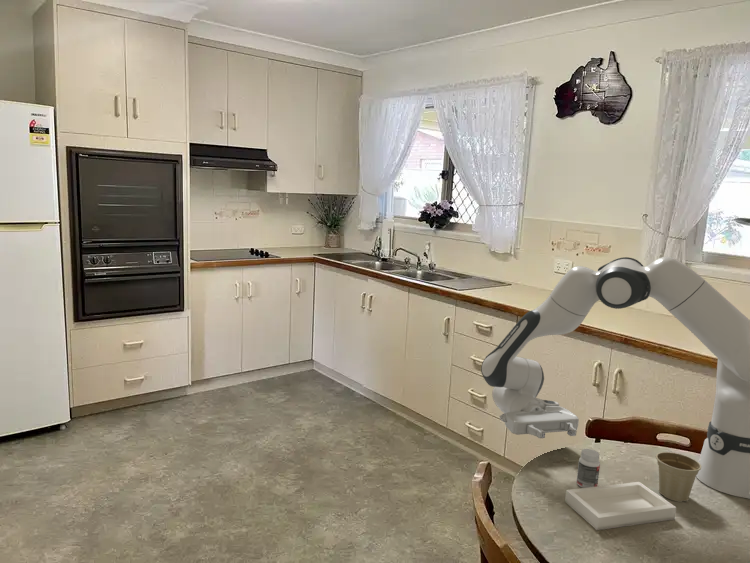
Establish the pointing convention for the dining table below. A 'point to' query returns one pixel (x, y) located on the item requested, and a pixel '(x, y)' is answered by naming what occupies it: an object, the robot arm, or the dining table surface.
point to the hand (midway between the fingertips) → (558, 434)
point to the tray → (619, 505)
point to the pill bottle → (588, 468)
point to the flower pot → (676, 475)
